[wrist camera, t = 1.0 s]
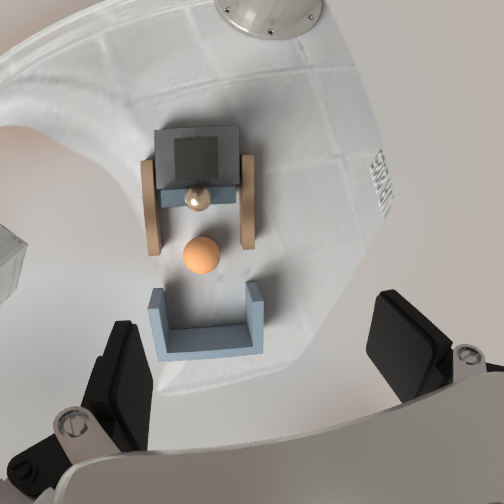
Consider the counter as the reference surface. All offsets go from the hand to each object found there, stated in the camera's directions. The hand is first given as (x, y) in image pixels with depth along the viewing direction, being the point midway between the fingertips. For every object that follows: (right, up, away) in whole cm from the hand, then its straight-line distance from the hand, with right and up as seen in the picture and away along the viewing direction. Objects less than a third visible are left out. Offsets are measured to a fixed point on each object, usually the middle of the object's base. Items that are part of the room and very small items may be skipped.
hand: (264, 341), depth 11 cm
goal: (-6, -3, +26) cm, 27 cm away
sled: (-6, +12, +20) cm, 24 cm away
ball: (-6, +3, +22) cm, 22 cm away
